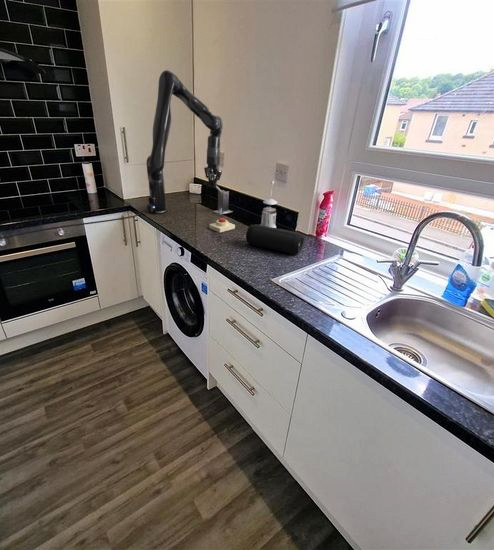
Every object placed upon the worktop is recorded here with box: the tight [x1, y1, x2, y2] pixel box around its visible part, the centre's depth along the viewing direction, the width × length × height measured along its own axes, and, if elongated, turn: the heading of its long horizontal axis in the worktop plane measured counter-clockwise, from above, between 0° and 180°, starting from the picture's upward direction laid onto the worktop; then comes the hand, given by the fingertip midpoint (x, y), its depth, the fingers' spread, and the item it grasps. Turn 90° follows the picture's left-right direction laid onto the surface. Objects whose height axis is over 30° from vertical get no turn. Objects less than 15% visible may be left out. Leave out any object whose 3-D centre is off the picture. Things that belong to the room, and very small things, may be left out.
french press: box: [259, 180, 278, 228], centre depth 168 cm, size 10×12×25 cm
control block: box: [208, 219, 236, 233], centre depth 168 cm, size 11×9×4 cm
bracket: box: [212, 189, 234, 215], centre depth 190 cm, size 10×8×14 cm
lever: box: [210, 179, 224, 196], centre depth 183 cm, size 15×3×3 cm
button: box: [218, 217, 227, 223], centre depth 167 cm, size 4×4×2 cm
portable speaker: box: [245, 223, 305, 255], centre depth 143 cm, size 26×10×10 cm, turn 61°
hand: (212, 186), depth 180 cm, fingers closed on lever, 3 cm apart
